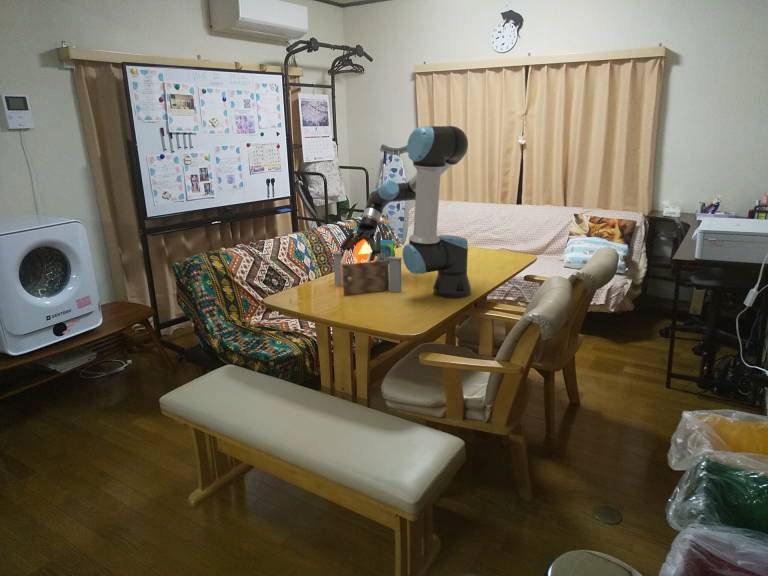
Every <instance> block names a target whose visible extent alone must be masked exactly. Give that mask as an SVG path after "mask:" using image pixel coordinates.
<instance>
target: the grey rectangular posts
mask: <svg viewBox="0 0 768 576" xmlns="http://www.w3.org/2000/svg"><path fill="white" fill-rule="evenodd" d="M342 253H343V252H340V251H335V252H333V253H332V257H333V271H334V286H335V285H336V286H335V287H343V286H342V285H343V270H342V264H341V261H342ZM387 261H389V263H388V271H389V292H391V293H398V292H400V293H401V292H402V257H399V256H395V257H388V258H387Z"/></svg>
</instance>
